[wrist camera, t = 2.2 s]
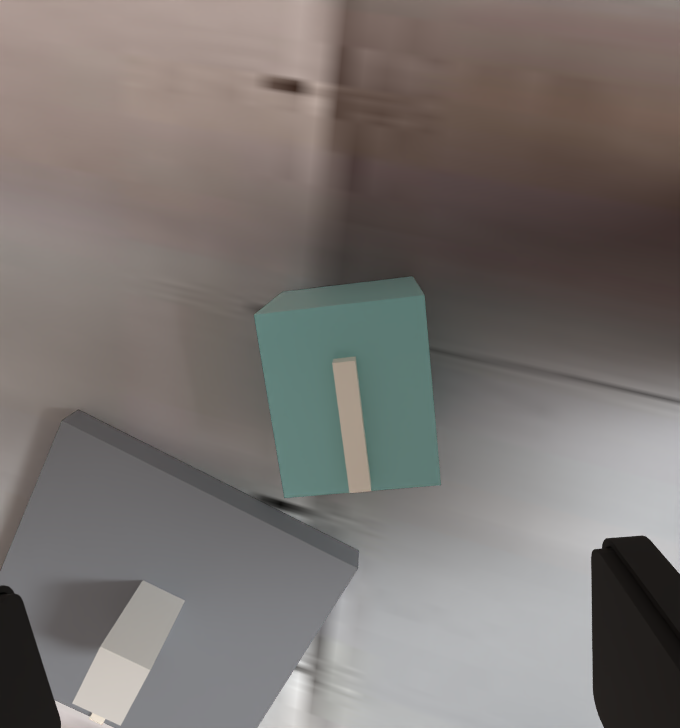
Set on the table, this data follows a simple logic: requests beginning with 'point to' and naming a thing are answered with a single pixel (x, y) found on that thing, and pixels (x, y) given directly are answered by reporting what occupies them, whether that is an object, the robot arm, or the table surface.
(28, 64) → the table surface
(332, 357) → the teal block
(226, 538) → the grey flat block
